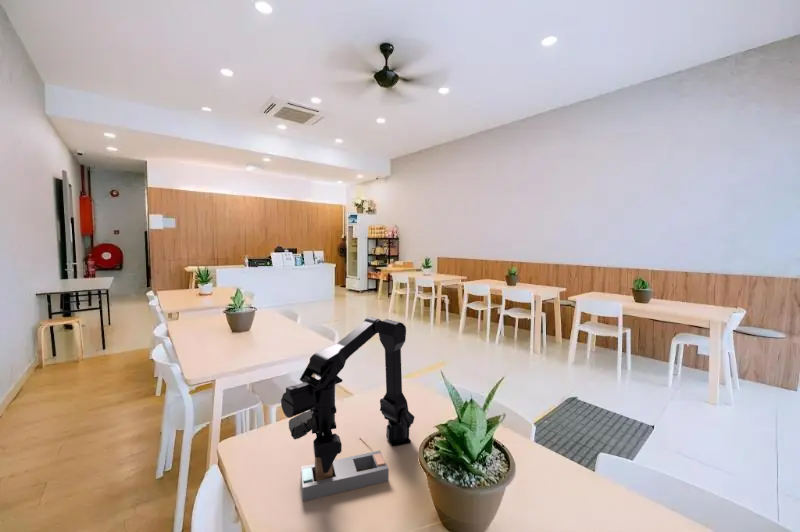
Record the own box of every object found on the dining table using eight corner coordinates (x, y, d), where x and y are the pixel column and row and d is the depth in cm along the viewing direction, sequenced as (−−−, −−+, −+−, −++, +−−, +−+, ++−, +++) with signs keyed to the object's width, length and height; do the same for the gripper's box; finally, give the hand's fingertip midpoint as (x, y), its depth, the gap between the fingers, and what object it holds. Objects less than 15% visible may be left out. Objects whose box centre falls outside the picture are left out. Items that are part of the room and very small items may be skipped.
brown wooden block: (330, 478, 89) (330, 449, 88) (332, 488, 85) (332, 458, 84) (314, 481, 87) (314, 452, 87) (316, 492, 84) (316, 462, 83)
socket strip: (379, 462, 96) (380, 449, 95) (388, 480, 88) (388, 467, 88) (300, 479, 88) (300, 465, 88) (302, 501, 80) (302, 486, 80)
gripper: (289, 391, 91) (289, 445, 92) (292, 427, 73) (292, 494, 74) (330, 386, 94) (330, 438, 95) (342, 419, 77) (341, 482, 78)
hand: (323, 460), depth 86 cm, fingers open, 9 cm apart
